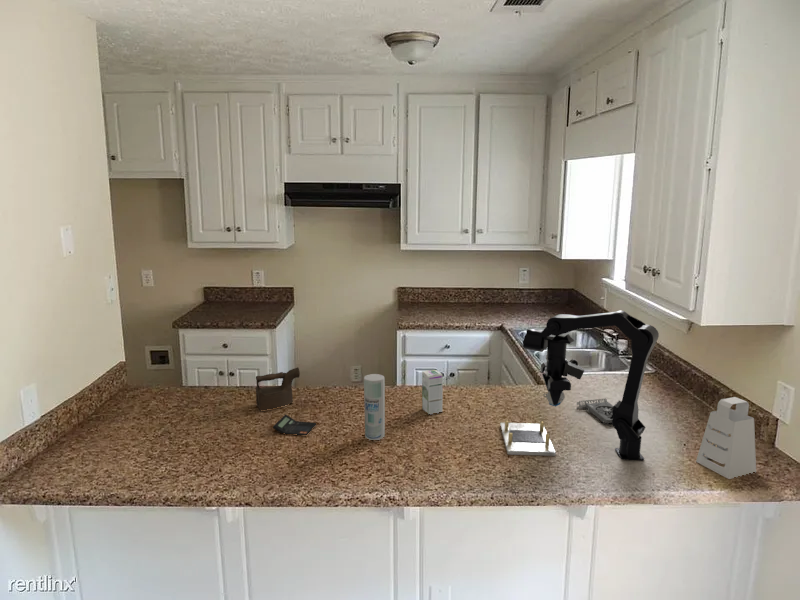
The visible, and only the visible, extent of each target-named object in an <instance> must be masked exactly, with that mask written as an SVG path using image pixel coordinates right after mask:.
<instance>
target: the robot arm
mask: <svg viewBox="0 0 800 600" xmlns="http://www.w3.org/2000/svg"><path fill="white" fill-rule="evenodd" d="M545 325H546V326H545V327H544V329H542V330H538V329H534V328H527V329H526V333H525V335H524V337H523V340H522V347H523V349H524V350H528V351H533V352H538V353H539V352H540V353H543V351H545V350H547V351H546V355H545V360H546V362H543V363H542V364H540V372H541V373H542V378H543V379H542V380H543V381H544V384H545V386H546V389H547V393H548V392H550V396H551V399H552V402H553V405H557V404H558V401H559V398H560V396H561V393H562V391H563V392H564V391H571V390H572V383H571V382H570V380H569V379H568V378H567V377H568V376H570V377H574V378H576V379H577V380H581V379H582V377H583V375H584V373H585V369H584V368H583V367H582V366H581V365H579V363H578V360H577V359H575V358H571V359H570V360H568V359H567V344H568V345H570V344H572V343H574V342H575V340H574V339H573V338H572V337H571V335H570V334H567V333H570V332H573V331H576V330H582V329H583V330H585V329H593V328H604V327H605V328H607V327H614V326H615V327H616V328H618V330H619V331H621V332H622V334H623V335H625V337H627V338H628V339H629V340H631V342H630V343H631V344H630V349H631V360H630V365H629V368H628V369H629V370H628V373H627V378H626V382H625V387H624V390H623V394H622V400H618V401H617V402H615V404H614V405H613V414H612V416H611V418H610V419H612V423H611V425H612V427H613V428H614V429H615V431H616V433H617V436H618V439H619V447H615V448H614V450H615V452H616V453H617V455H618V456H619V458H620V459H621V460H624V461H645V458H644V456H643V455H642V454H641V450H642V449H641V448H642V446H641V445H642V434H643V433H644V431H645V430H646V426H645V425H644V423H643V422H642V421H641V420H640V419H639V405H638V404H639V403H638V402H639V401H638V400H639V396H640V391H641V389H642V386H643V380H644V378H645V377H644V376H645V372H646V368H647V364H648V360H649V358H650V355H651V353H652V351H653V349H654V347H655V345H657V341H658V339H659V337H660V335H659V333H660V332H659V331H658V329H657V328H656V327H655V326H653V325H651V324H646V323H645V322H643V321H642V320H640V319H638V318H636V317H635V316H632V315H631V314H629V313H628V312H626V311H625V310H617V311H611V312H602V313H593V314H585V315H575V314H565V313H564V314H563V313H559V314H556V315H554V316H552V317H550V318H549V319H548V320H547V321H546V323H545ZM563 334H564V335H563ZM565 334H566V335H565Z"/></svg>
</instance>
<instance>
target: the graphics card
mask: <svg viewBox="0 0 800 600" xmlns="http://www.w3.org/2000/svg"><path fill="white" fill-rule="evenodd" d="M582 403H584V404H582ZM576 405H578V406H576V409H577V410H579V409H581V410H582V409H583V410H586V412H588V413H589V414H590V413H591V414H593V415H594V416H595V417H596V418H598V419H599V420H600V421H601V422H602V423H605V424H610V423H611V424H612V419H610V418H611V416H612V414H613V406H614V405H613V404H611V403H610V402H609V401H608V398H598V399H597V398H596V399H586V400H579V401H577V402H576Z"/></svg>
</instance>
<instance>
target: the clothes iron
mask: <svg viewBox="0 0 800 600" xmlns="http://www.w3.org/2000/svg"><path fill="white" fill-rule="evenodd" d="M300 371H301V370H300V368H299V367H298V366H297V367H295V368H291V369H289V370H288V371H287V372H283V371H281V372H278V373H267V374H264V375H256V376H255V382H256V387H255V397H256V399H255V403H256V407H258V409H259V411H260V410H267V409H273V408H277V407H281V406H285V405H288V404H290V403H292V402H293V403H294V399H293V398H294V397H293V389H292V385H293V381H294V379H296V378H297V379H299V378H300V375H301V373H300ZM277 379H279V380H280V379H282V381H281V385H273V386H264V387H260V385H259V383H261V382H265V381H266V382H267V381H268V382H270V381H273V380H277ZM293 403H292V404H293Z"/></svg>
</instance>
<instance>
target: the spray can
mask: <svg viewBox="0 0 800 600" xmlns="http://www.w3.org/2000/svg"><path fill="white" fill-rule="evenodd" d="M385 380H386V379H385V376H384V375H382V374H378V373H371V374H367V375H366V374H365V375H364V376H363V395H364V396H363V401H364V402H363V403H364V437H365V439H366V438H367V439H369V440H368V441H370V440H379V441H381V440H380V439H382V438H383V437H384V438H385V423H386V421H385V419H386V417H385V411H386V410H385V401H386V400H385V398H386V397H385V392H386V390H385V388H386V387H385V386H386V385H385V382H386V381H385ZM384 438H383V439H384ZM367 439H366V440H367ZM383 439H382V440H383Z"/></svg>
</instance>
